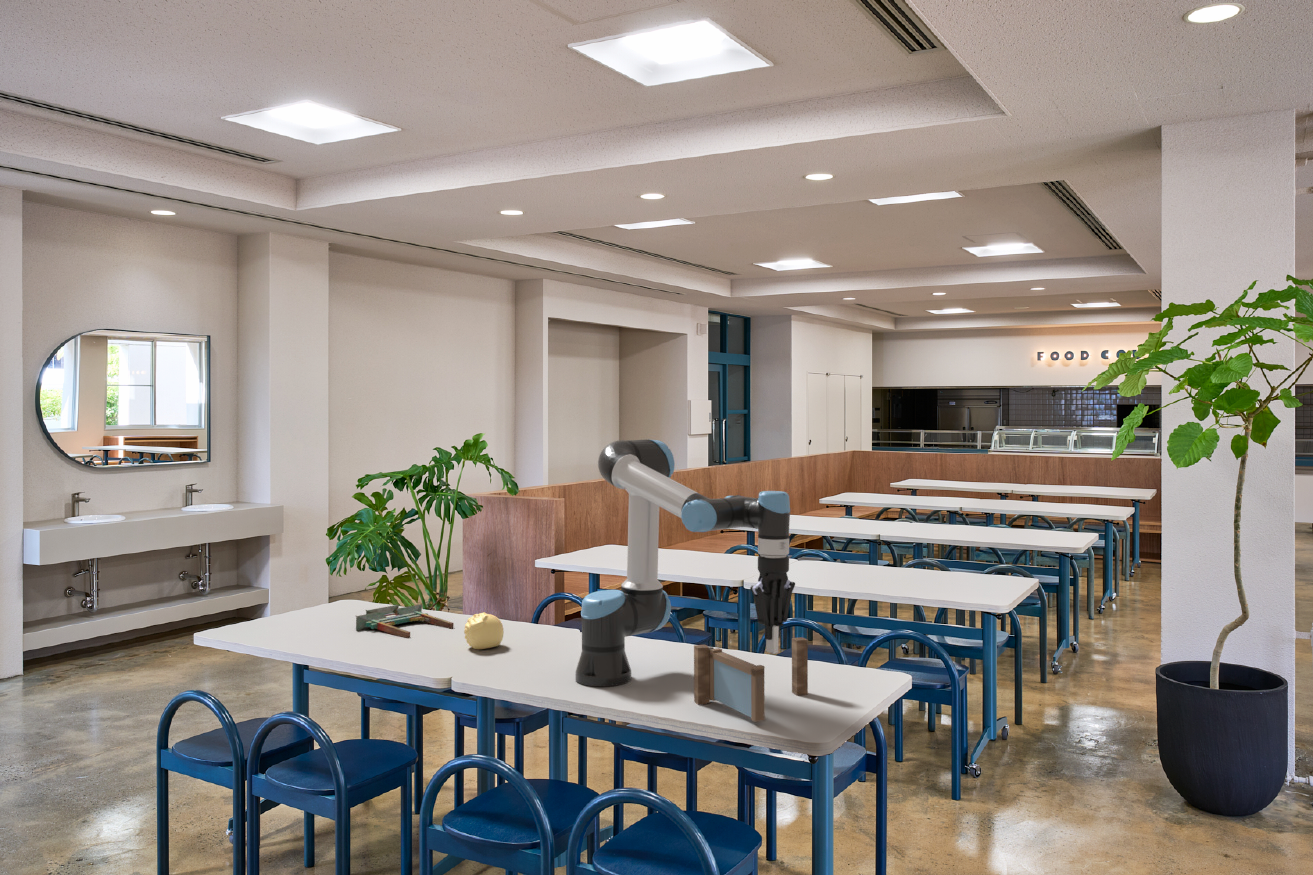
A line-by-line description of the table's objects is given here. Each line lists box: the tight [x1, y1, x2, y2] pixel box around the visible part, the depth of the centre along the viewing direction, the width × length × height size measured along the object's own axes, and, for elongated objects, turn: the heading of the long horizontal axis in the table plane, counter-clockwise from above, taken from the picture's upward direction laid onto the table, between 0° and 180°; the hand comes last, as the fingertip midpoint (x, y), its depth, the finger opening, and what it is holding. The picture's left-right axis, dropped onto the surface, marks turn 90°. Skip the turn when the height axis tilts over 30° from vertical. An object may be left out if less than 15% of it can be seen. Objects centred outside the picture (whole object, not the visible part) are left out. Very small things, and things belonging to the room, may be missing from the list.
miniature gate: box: [355, 603, 455, 638], centre depth 326 cm, size 27×6×30 cm
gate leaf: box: [710, 647, 766, 723], centre depth 227 cm, size 20×3×12 cm, turn 28°
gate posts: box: [693, 636, 809, 706], centre depth 240 cm, size 30×3×14 cm, turn 106°
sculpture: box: [463, 611, 505, 650], centre depth 296 cm, size 12×12×11 cm
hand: (772, 652), depth 231 cm, fingers closed
